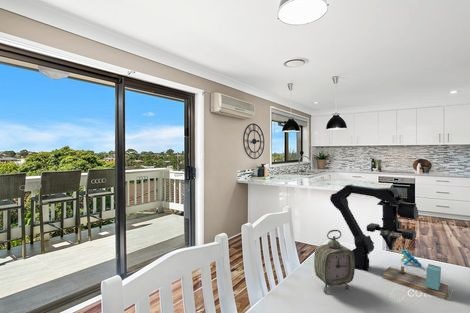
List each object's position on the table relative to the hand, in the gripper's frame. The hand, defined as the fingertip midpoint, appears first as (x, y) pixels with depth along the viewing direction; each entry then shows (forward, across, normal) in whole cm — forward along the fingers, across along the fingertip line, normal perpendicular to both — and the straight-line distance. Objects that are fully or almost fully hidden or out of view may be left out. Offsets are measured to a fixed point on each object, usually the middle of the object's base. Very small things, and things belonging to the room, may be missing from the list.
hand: (390, 249), depth 114 cm
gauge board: (+14, -8, -2) cm, 16 cm away
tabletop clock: (+12, +13, +28) cm, 34 cm away
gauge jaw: (+11, -15, -2) cm, 19 cm away
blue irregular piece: (+14, -1, -23) cm, 27 cm away
